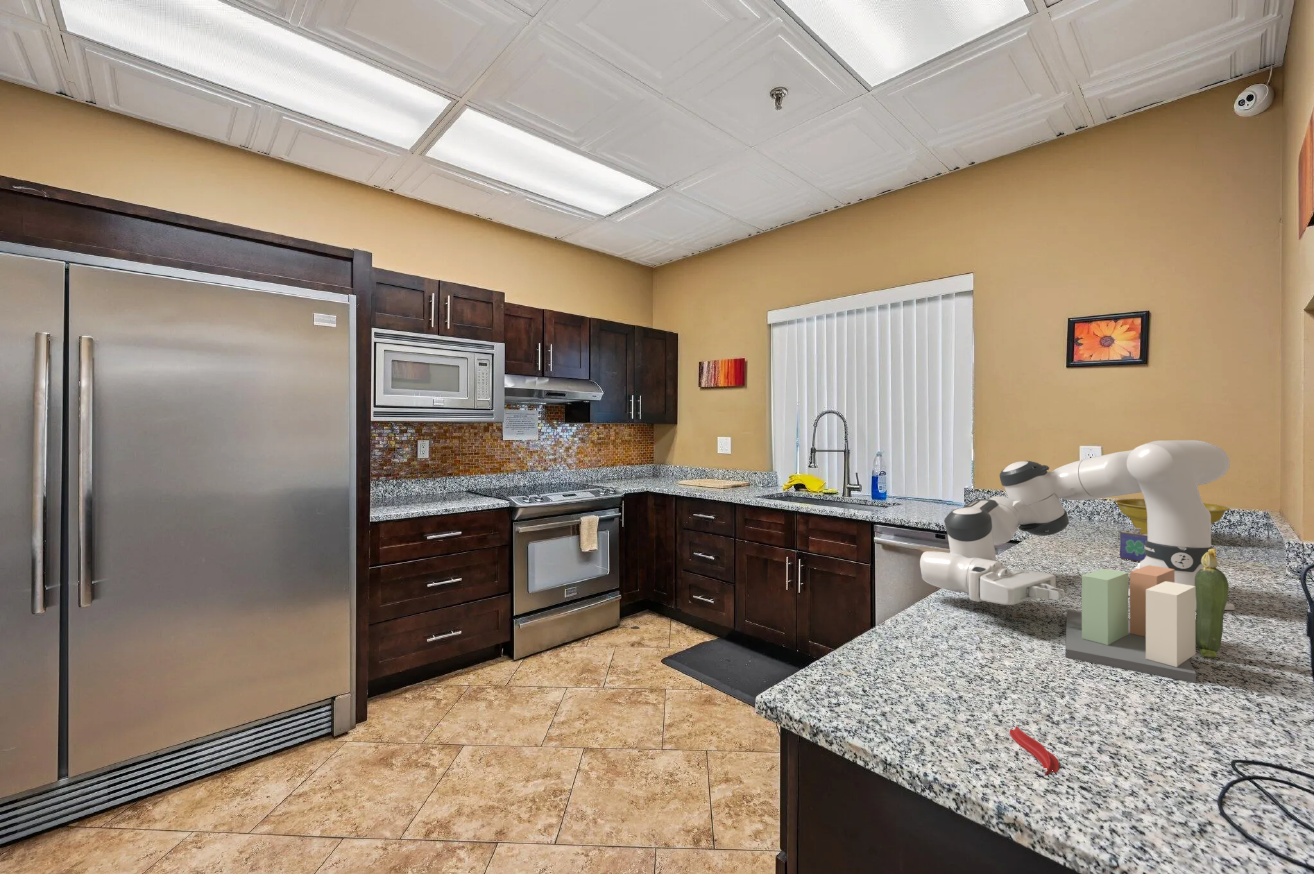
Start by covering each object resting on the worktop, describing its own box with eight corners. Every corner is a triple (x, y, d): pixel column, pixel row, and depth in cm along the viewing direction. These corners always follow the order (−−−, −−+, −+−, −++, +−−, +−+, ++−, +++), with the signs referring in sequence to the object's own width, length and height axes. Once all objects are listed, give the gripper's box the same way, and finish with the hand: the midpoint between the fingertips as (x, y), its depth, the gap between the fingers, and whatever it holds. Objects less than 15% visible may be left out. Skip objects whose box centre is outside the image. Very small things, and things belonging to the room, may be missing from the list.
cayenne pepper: (1065, 785, 64) (1065, 769, 64) (1018, 774, 66) (1018, 758, 66) (1047, 734, 74) (1047, 720, 74) (1007, 726, 76) (1007, 713, 76)
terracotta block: (1130, 633, 106) (1130, 571, 106) (1148, 623, 112) (1148, 565, 112) (1156, 639, 103) (1156, 576, 103) (1174, 629, 108) (1174, 569, 108)
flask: (1157, 564, 169) (1157, 529, 169) (1152, 565, 168) (1152, 530, 168) (1122, 558, 177) (1122, 525, 177) (1117, 559, 176) (1117, 525, 176)
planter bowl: (1228, 551, 187) (1228, 512, 187) (1107, 538, 211) (1107, 503, 211) (1230, 538, 209) (1230, 503, 209) (1121, 528, 233) (1121, 496, 233)
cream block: (1145, 658, 94) (1145, 589, 94) (1165, 646, 100) (1165, 581, 100) (1176, 666, 91) (1176, 595, 91) (1195, 653, 96) (1195, 586, 96)
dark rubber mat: (1067, 616, 121) (1067, 609, 121) (1171, 632, 111) (1171, 625, 111) (1065, 657, 99) (1065, 648, 99) (1195, 682, 89) (1195, 673, 89)
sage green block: (1081, 638, 104) (1081, 575, 104) (1103, 628, 109) (1103, 568, 109) (1107, 645, 100) (1107, 580, 100) (1128, 634, 106) (1128, 572, 106)
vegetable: (1192, 650, 102) (1192, 543, 102) (1226, 656, 99) (1226, 546, 99) (1196, 657, 98) (1196, 547, 98) (1230, 664, 96) (1230, 550, 96)
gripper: (1012, 586, 128) (1083, 602, 116) (966, 601, 117) (1038, 619, 106) (1012, 560, 128) (1083, 572, 116) (965, 572, 117) (1038, 587, 105)
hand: (1061, 595), depth 111 cm, fingers closed
